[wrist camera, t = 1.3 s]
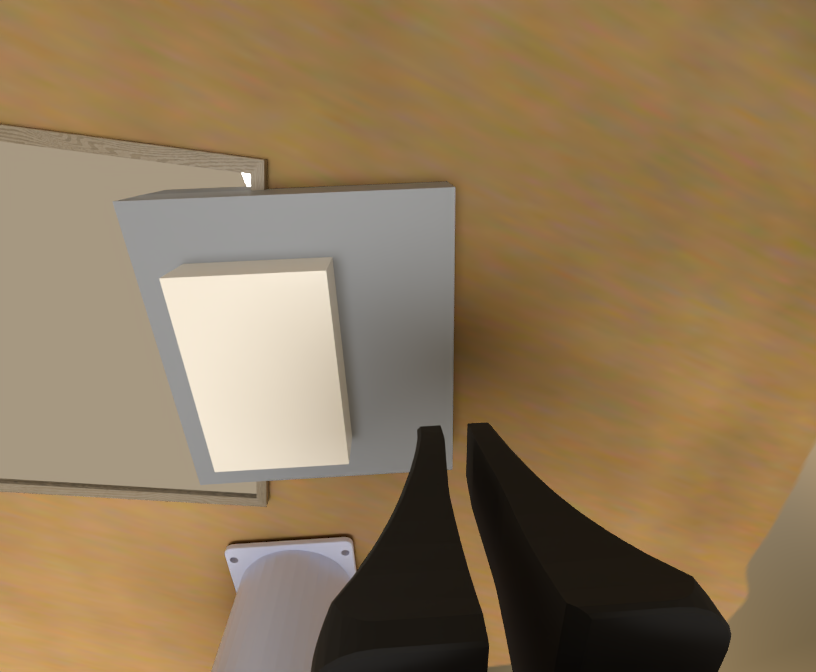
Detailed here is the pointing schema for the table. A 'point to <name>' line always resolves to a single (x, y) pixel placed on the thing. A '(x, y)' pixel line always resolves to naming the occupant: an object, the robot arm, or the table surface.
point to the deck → (356, 297)
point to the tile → (263, 360)
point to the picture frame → (93, 321)
